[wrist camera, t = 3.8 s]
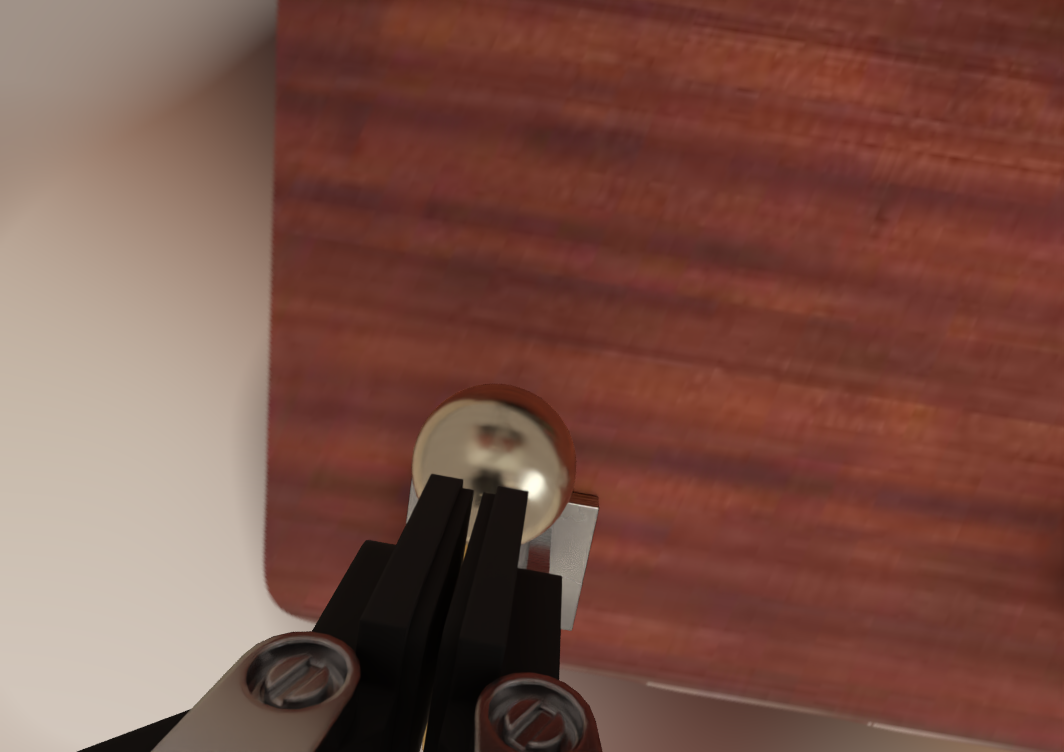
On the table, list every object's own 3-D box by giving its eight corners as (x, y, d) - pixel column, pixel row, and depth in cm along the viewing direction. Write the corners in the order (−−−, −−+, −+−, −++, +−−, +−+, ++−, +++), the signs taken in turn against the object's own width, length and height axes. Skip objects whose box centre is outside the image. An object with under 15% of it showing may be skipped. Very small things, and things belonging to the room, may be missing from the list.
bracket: (417, 463, 33) (324, 632, 21) (598, 496, 33) (611, 685, 21) (401, 585, 35) (308, 804, 23) (572, 616, 35) (569, 853, 23)
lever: (435, 337, 15) (389, 458, 12) (595, 366, 15) (583, 494, 12) (423, 664, 26) (396, 766, 23) (515, 681, 26) (500, 785, 23)
